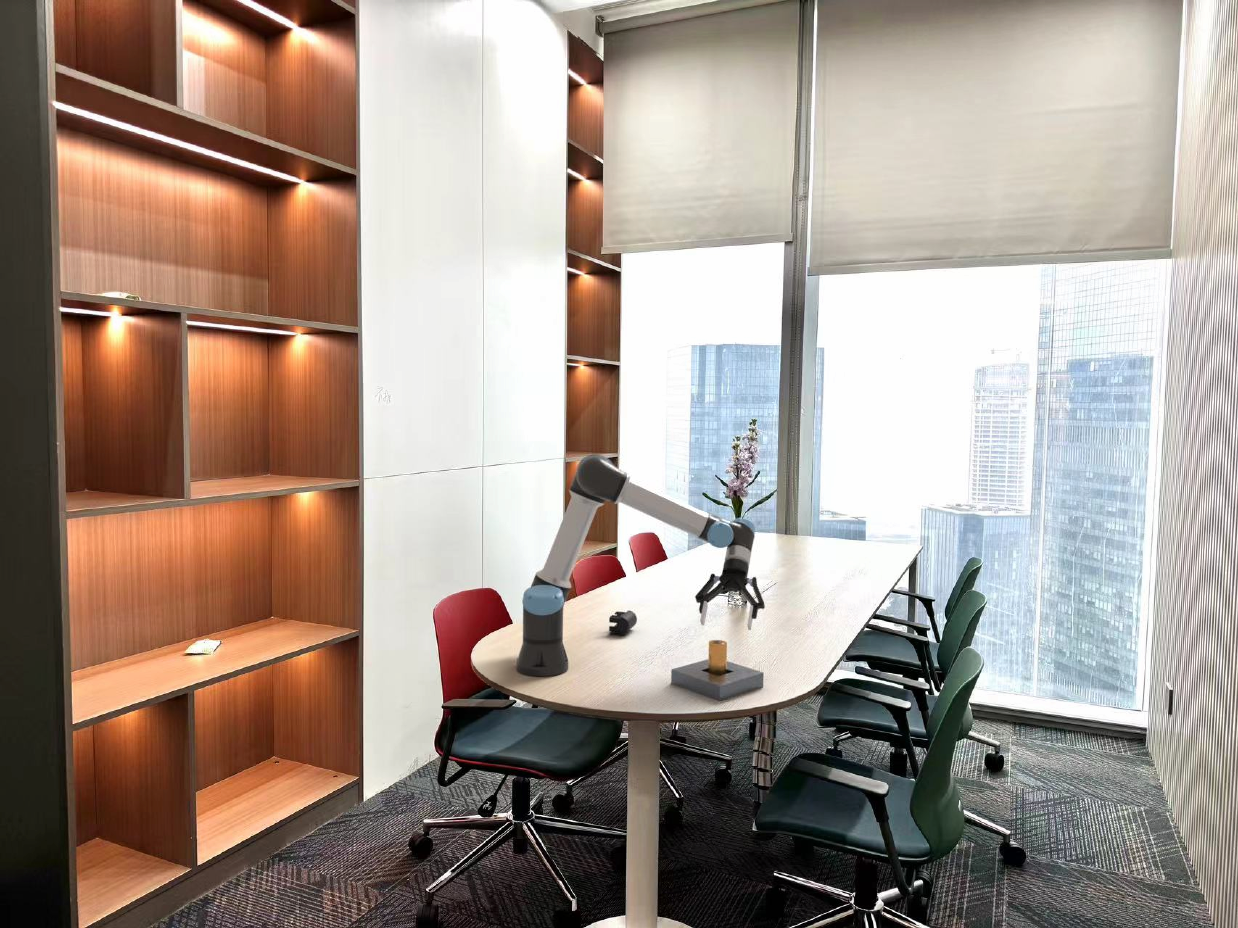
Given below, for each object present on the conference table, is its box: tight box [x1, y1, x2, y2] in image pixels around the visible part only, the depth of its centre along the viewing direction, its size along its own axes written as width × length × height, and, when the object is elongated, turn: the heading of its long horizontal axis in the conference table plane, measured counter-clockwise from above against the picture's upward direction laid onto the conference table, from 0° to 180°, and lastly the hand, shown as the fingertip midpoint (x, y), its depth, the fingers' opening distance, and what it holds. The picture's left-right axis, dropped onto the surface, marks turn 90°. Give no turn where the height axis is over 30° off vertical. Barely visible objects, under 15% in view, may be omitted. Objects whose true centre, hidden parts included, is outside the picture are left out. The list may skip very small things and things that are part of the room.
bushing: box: [708, 639, 728, 676], centre depth 231 cm, size 5×5×12 cm
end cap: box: [608, 609, 638, 637], centre depth 284 cm, size 10×7×7 cm
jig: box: [670, 658, 764, 702], centre depth 231 cm, size 18×18×4 cm
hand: (725, 625), depth 238 cm, fingers open, 13 cm apart
